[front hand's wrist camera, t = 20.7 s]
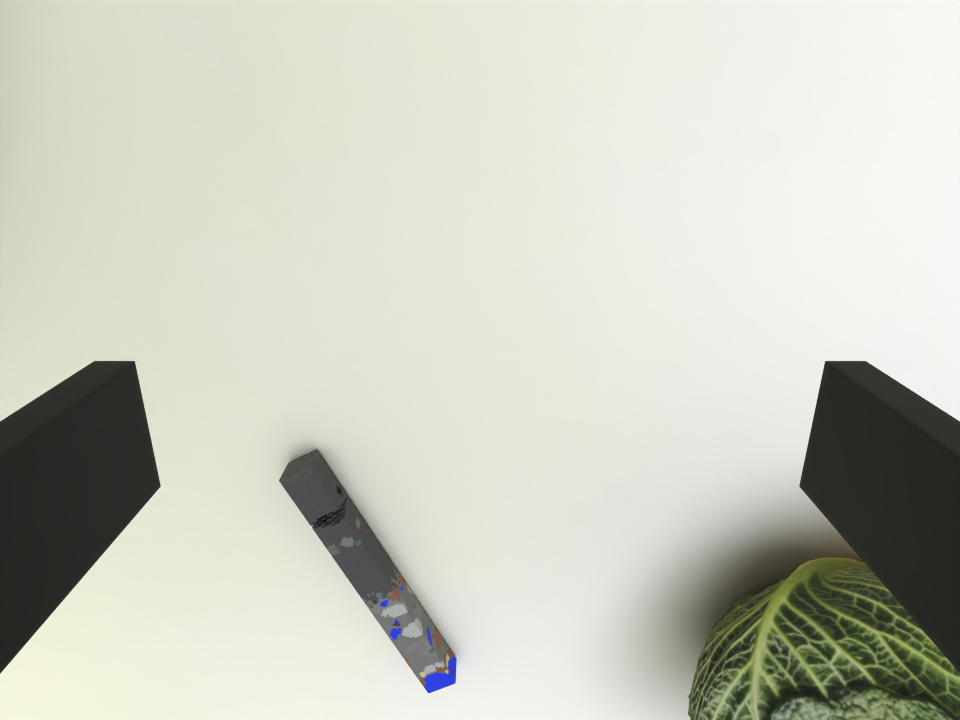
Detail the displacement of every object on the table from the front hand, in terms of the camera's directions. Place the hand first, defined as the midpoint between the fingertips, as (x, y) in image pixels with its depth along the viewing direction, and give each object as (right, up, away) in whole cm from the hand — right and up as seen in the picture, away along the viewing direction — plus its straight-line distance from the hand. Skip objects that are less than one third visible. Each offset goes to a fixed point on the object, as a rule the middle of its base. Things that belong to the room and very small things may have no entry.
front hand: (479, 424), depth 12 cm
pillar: (-7, -13, +32) cm, 36 cm away
